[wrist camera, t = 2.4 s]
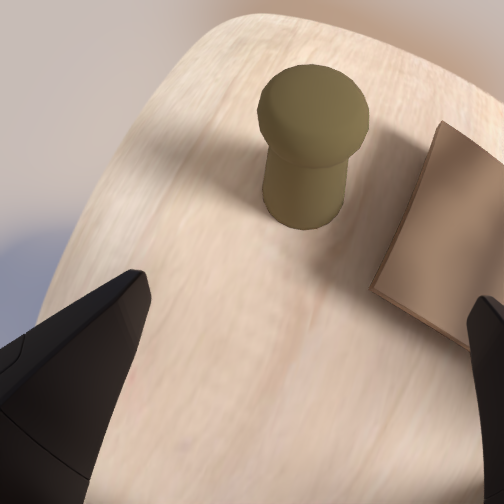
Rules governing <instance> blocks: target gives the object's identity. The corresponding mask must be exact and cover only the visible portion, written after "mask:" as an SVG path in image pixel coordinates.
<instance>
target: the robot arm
mask: <svg viewBox="0 0 504 504" xmlns="http://www.w3.org/2000/svg"><path fill="white" fill-rule="evenodd" d="M150 304H151V292H150V288H149V284H148V280H147V276H146V274H145V272H144V271H142V270H134V269H130V270H128V271H126V272H124V273H122V274H121V275H119V276H117V277H116V278H114V279H112V280H110V281H109V282H107V283H105V284H104V285H102V286H100V287H99V288H97V289H95V290H94V291H92V292H90V293H89V294H87V295H85V296H84V297H82V298H80V299H79V300H77V301H75V302H74V303H72V304H71V305H69V306H67V307H66V308H64V309H62V310H61V311H59V312H58V313H56V314H54V315H53V316H51V317H50V318H48V319H46V320H45V321H43V322H42V323H40V324H39V325H37V326H35V327H34V328H32V329H31V330H29V331H28V332H26V334H23V335H21V336H20V337H18V338H17V339H15V340H14V341H12V342H11V343H9V344H7V345H6V346H4V347H3V348H1V349H0V504H83V502H84V499H85V496H86V492H87V489H88V486H89V482H90V481H89V480H90V479H91V475H92V472H93V469H94V466H95V463H96V460H97V457H98V454H99V451H100V448H101V445H102V442H103V439H104V436H105V433H106V430H107V428H108V425H109V422H110V419H111V416H112V414H113V411H114V408H115V405H116V403H117V400H118V397H119V395H120V392H121V390H122V387H123V384H124V382H125V379H126V377H127V374H128V372H129V369H130V367H131V364H132V362H133V359H134V356H135V354H136V351H137V348H138V345H139V341H140V338H141V334H142V331H143V328H144V324H145V321H146V317H147V314H148V311H149V308H150ZM466 326H467V333H468V339H469V346H470V354H471V363H472V371H473V377H474V383H475V389H476V395H477V401H478V408H479V415H480V424H481V433H482V444H483V460H484V499H485V500H484V504H504V305H502V304H501V303H500V302H499V301H498V300H496V299H495V298H494V297H492V296H488V295H481V296H479V297H478V298H477V300H476V302H475V304H474V306H473V307H472V309H471V311H470V313H469V315H468V317H467V321H466Z"/></svg>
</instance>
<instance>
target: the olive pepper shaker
mask: <svg viewBox="0 0 504 504" xmlns="http://www.w3.org/2000/svg"><path fill="white" fill-rule="evenodd" d="M257 114H258V121H259V127H260V132H261V133H262V135H263V137H264V139H265V140H266V142H267V144H268V145H269V149H268V155H267V162H266V168H265V174H264V181H263V187H262V192H263V200H264V203H265V205H266V207H267V209H268V211H269V213H270V214H271V215H272V216H273V217H274V218H275V219H276V220H277V221H278V222H280V223H282V224H284V225H286V226H288V227H290V228H294V229H299V230H310V229H317V228H319V227H322V226H324V225H326V224H328V223H329V222H330V221H332V220H333V219H334V218H335V217H336V216H337V215H338V213H339V211H340V209H341V207H342V205H343V201H344V193H345V185H346V177H347V168H348V159H349V157H350V156H351V155H353V154H354V153H355V152H356V151H357V150H358V149H359V148H360V146H361V144H362V142H363V140H364V138H365V136H366V134H367V132H368V129H369V108H368V105H367V102H366V100H365V97H364V95H363V93H362V92H361V90H360V89H359V88H358V86H357V85H356V84H355V83H354V82H353V80H351V79H350V78H349V77H347V76H346V75H344V74H343V73H341V72H339V71H337V70H335V69H332V68H329V67H326V66H320V65H314V64H310V65H297V66H294V67H291V68H288V69H285V70H283V71H282V72H280V73H279V74H277V75H276V76H274V77H273V78H272V79H271V80H270V81H269V83H268V84H267V85H266V86H265V88H264V89H263V90H262V93H261V97H260V100H259V104H258V108H257Z"/></svg>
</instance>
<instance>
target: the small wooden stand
mask: <svg viewBox="0 0 504 504" xmlns="http://www.w3.org/2000/svg"><path fill="white" fill-rule="evenodd" d="M369 290H370V291H372V292H374V293H375V294H377V295H379V296H380V297H382V298H384V299H385V300H387V301H389V302H390V303H392V304H394V305H395V306H397V307H399V308H400V309H402V310H404V311H405V312H407V313H408V314H410V315H412V316H413V317H415V318H417V319H418V320H420V321H422V322H423V323H425V324H426V325H428V326H430V327H431V328H433V329H435V330H436V331H438V332H439V333H441V334H443V335H444V336H446V337H447V338H449V339H451V340H452V341H454V342H455V343H457V344H459V345H460V346H462V347H463V348H465V349H467V350H468V351H470V346H469V339H468V333H467V326H466V321H467V317H468V315H469V313H470V311H471V309H472V307H473V306H474V304H475V302H476V300H477V298H478V297H479V296H481V295H488V296H492V297H494V298H495V299H496V300H498V301H499V302H500V303H501V304H502V305H504V165H503V164H502V163H501V162H500V161H498V160H497V159H496V158H494V157H493V156H492V155H491V154H489V153H488V152H487V151H485V150H484V149H483V148H481V147H480V146H479V145H477V144H476V143H475V142H473V141H472V140H471V139H469V138H468V137H466V136H465V135H463V134H462V133H461V132H459V131H458V130H456V129H455V128H453V127H452V126H450V125H449V124H447V123H446V122H444V121H441V123H440V124H439V126H438V127H437V128H436V131H435V134H434V137H433V140H432V143H431V146H430V149H429V152H428V155H427V158H426V160H425V163H424V166H423V168H422V171H421V174H420V176H419V179H418V182H417V184H416V187H415V189H414V192H413V194H412V197H411V199H410V201H409V204H408V206H407V209H406V211H405V213H404V216H403V218H402V220H401V223H400V225H399V227H398V229H397V232H396V234H395V236H394V238H393V240H392V243H391V245H390V247H389V249H388V251H387V253H386V255H385V257H384V259H383V261H382V264H381V266H380V268H379V270H378V272H377V274H376V276H375V278H374V280H373V282H372V283H371V285H370V287H369Z"/></svg>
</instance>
